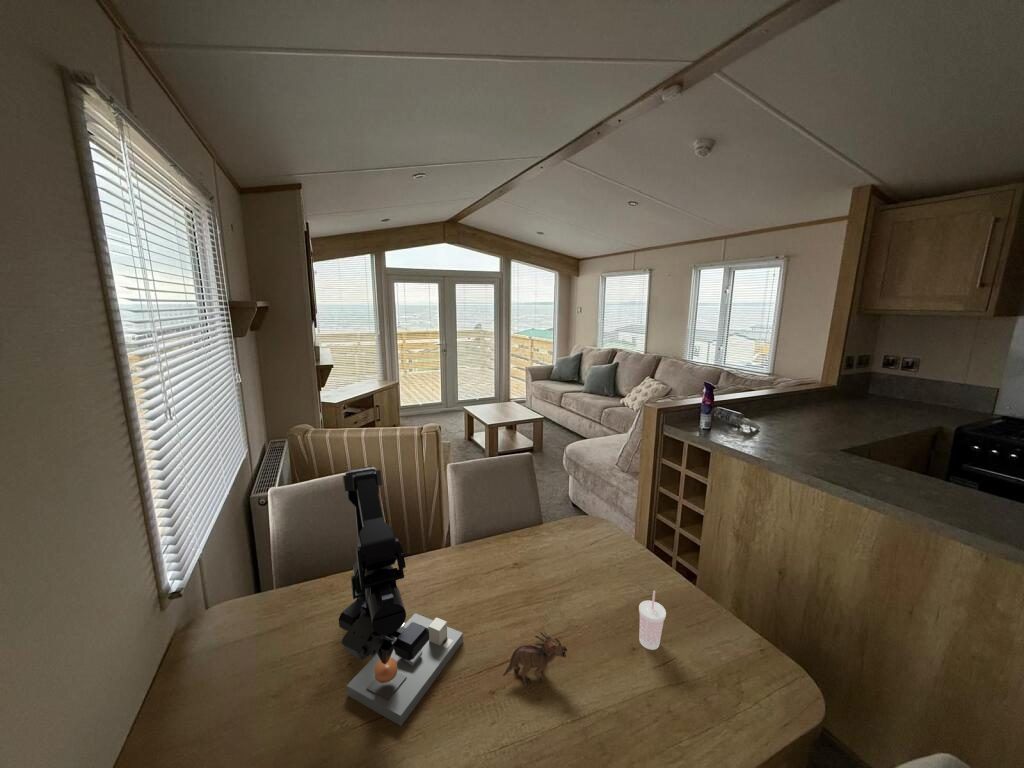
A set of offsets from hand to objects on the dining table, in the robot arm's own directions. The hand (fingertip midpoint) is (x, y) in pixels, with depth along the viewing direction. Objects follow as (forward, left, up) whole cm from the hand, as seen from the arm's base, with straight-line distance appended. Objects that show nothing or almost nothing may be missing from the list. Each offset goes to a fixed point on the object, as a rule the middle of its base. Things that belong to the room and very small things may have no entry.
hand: (385, 662), depth 85 cm
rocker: (0, +7, -4) cm, 8 cm away
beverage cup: (+47, +38, -8) cm, 61 cm away
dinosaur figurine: (+25, +18, -8) cm, 32 cm away
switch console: (0, +7, -8) cm, 10 cm away
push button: (0, 0, -4) cm, 4 cm away
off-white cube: (+3, +14, -5) cm, 15 cm away
